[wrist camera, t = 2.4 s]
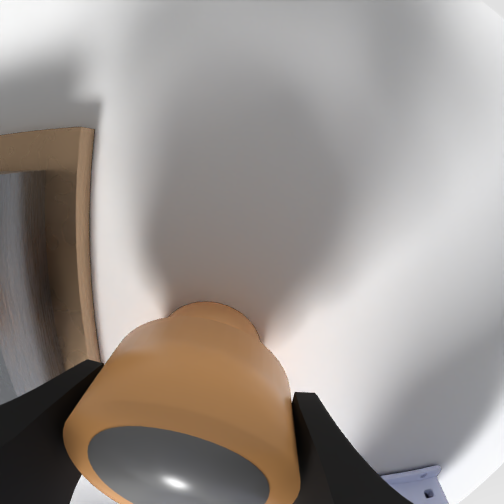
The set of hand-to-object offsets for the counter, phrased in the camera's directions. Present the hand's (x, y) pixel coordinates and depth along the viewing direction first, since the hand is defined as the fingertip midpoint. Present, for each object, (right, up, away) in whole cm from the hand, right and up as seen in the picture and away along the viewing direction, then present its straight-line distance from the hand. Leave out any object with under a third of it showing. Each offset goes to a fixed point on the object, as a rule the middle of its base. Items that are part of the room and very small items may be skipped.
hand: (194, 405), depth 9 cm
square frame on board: (-11, +4, +3) cm, 12 cm away
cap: (0, +1, +3) cm, 3 cm away
